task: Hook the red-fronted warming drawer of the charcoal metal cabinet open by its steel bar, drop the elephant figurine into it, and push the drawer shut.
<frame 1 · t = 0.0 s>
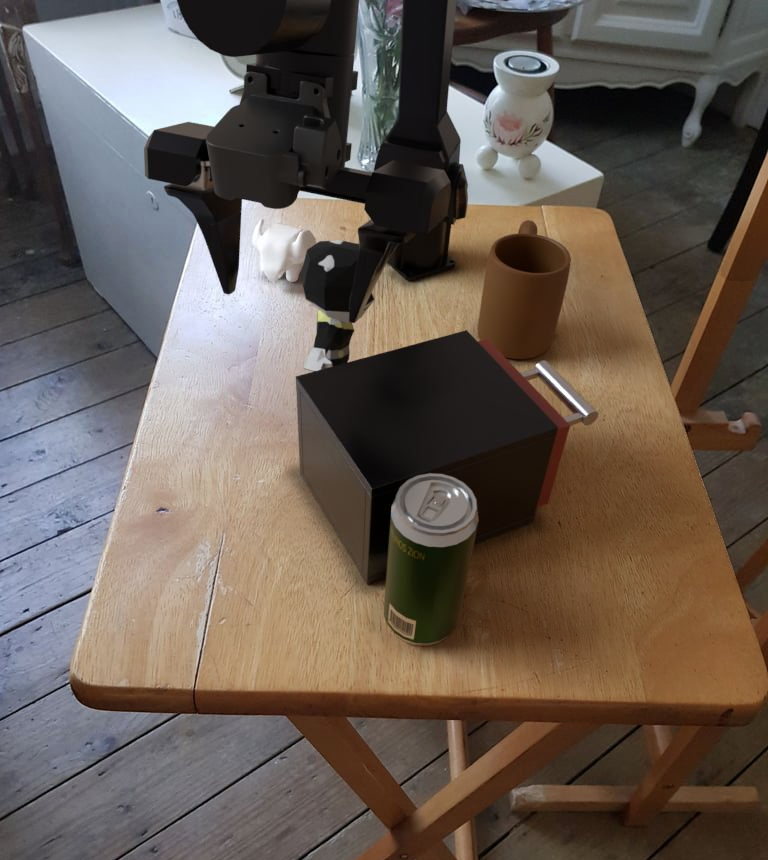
hand: (290, 306, 56), 15 cm above the table, tool pointing down, fingers open, 9 cm apart
beer can: (420, 619, 58), on the table
toy: (337, 400, 74), on the table
mug: (514, 327, 83), on the table
cabinet: (414, 498, 66), on the table
elephant figurine: (286, 277, 87), on the table
drawer: (471, 435, 64), point 5 cm above the table, slide at 0.5 cm
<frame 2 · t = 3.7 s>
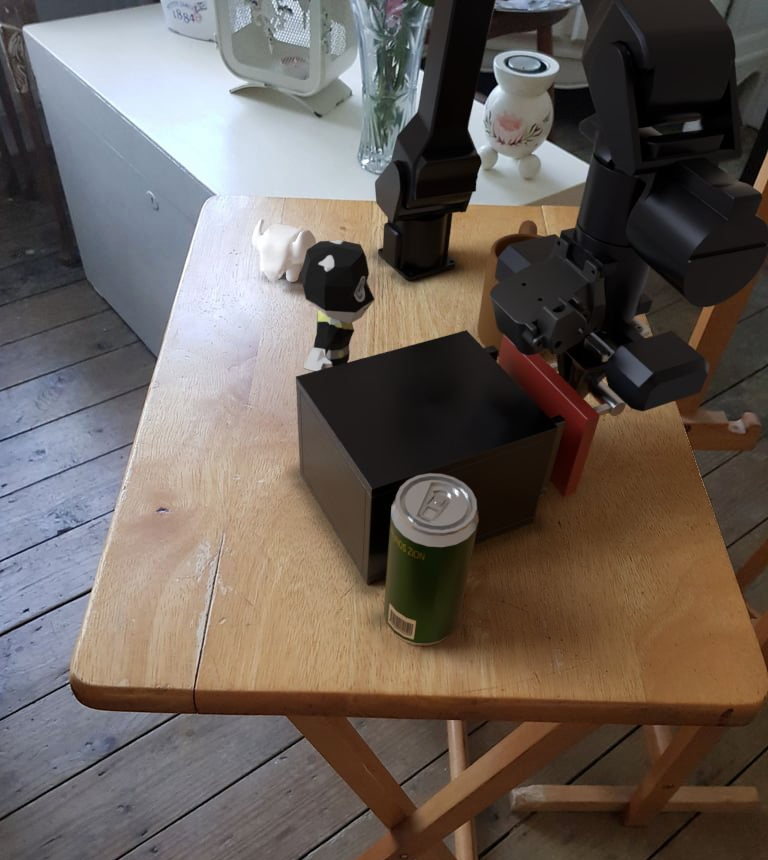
hand: (569, 403, 67), 5 cm above the table, tool pointing down, fingers closed, pressing on drawer
drawer: (500, 426, 64), point 5 cm above the table, slide at 3.2 cm, touching gripper
everything else where it was.
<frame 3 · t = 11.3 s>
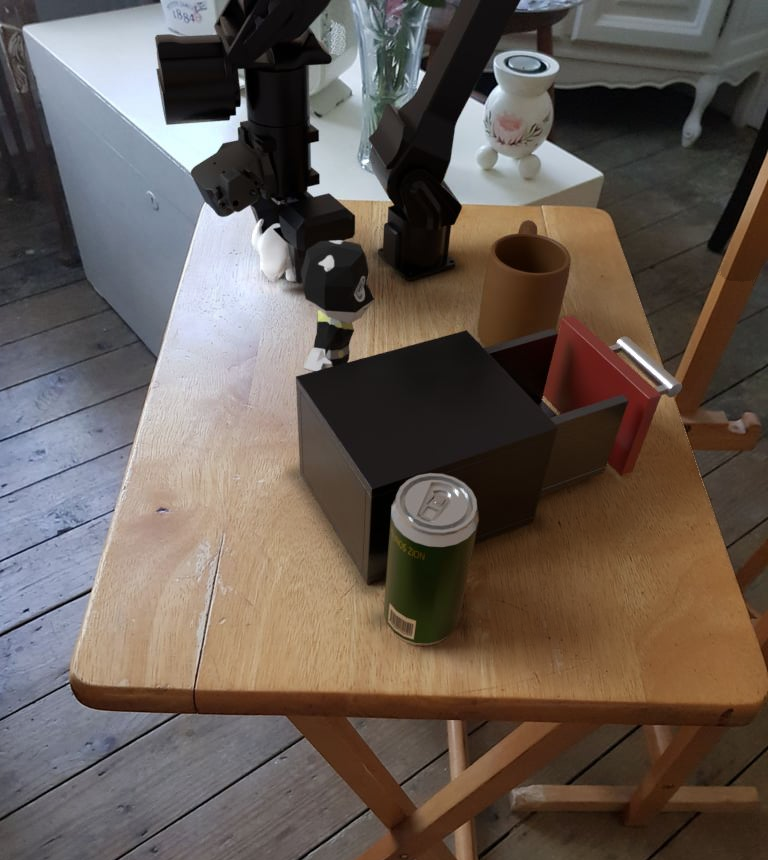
hand: (286, 267, 86), 1 cm above the table, tool pointing down, fingers closed on elephant figurine, 6 cm apart
elephant figurine: (286, 277, 87), on the table, touching gripper
drawer: (560, 406, 66), point 5 cm above the table, slide at 8.9 cm
everything else where it was.
when the fingers open (9 cm above the table, at t = 17.5 s): elephant figurine drops 6 cm, resting on drawer.
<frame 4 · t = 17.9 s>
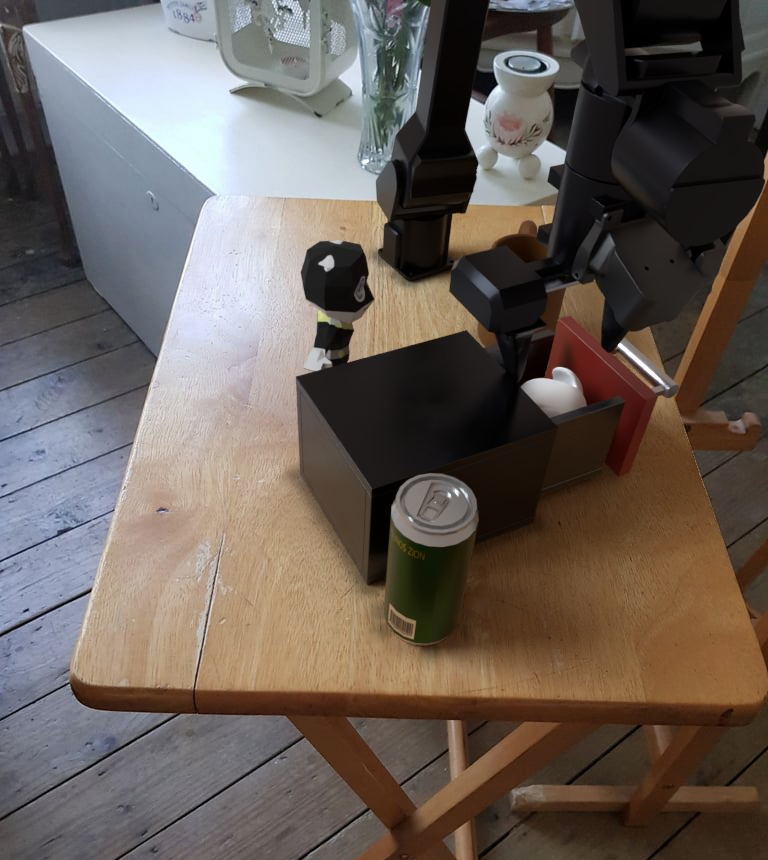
hand: (561, 364, 63), 10 cm above the table, tool pointing down, fingers open, 8 cm apart
elephant figurine: (537, 439, 68), point 2 cm above the table, touching drawer
drawer: (557, 407, 66), point 5 cm above the table, slide at 8.6 cm, touching elephant figurine
everything else where it was.
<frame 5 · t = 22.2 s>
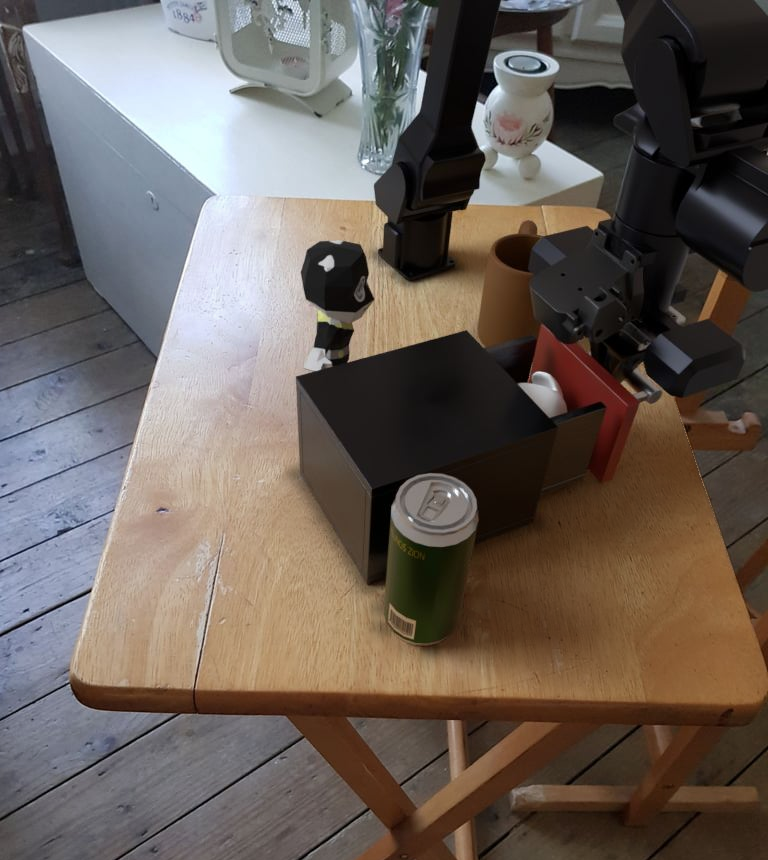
hand: (602, 392, 68), 5 cm above the table, tool pointing down, fingers closed
elephant figurine: (519, 446, 68), point 2 cm above the table, touching drawer
drawer: (539, 413, 66), point 5 cm above the table, slide at 6.9 cm, touching elephant figurine, gripper
everything else where it was.
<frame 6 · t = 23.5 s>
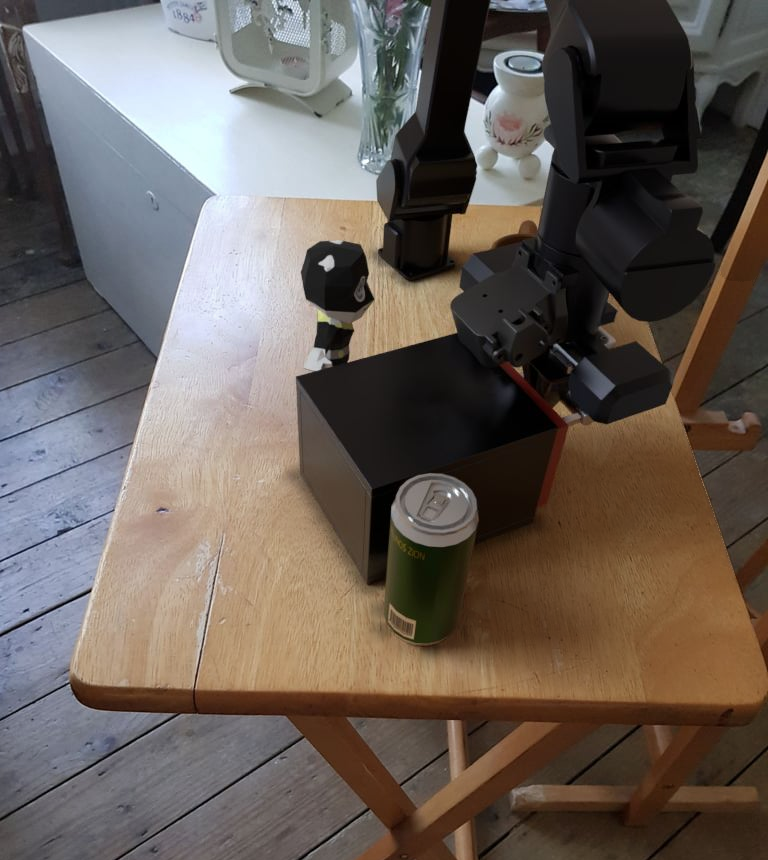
hand: (537, 414, 66), 5 cm above the table, tool pointing down, fingers closed, pressing on drawer
elephant figurine: (452, 469, 66), point 2 cm above the table, touching drawer
drawer: (470, 435, 63), point 5 cm above the table, slide at 0.4 cm, touching elephant figurine, gripper
everything else where it was.
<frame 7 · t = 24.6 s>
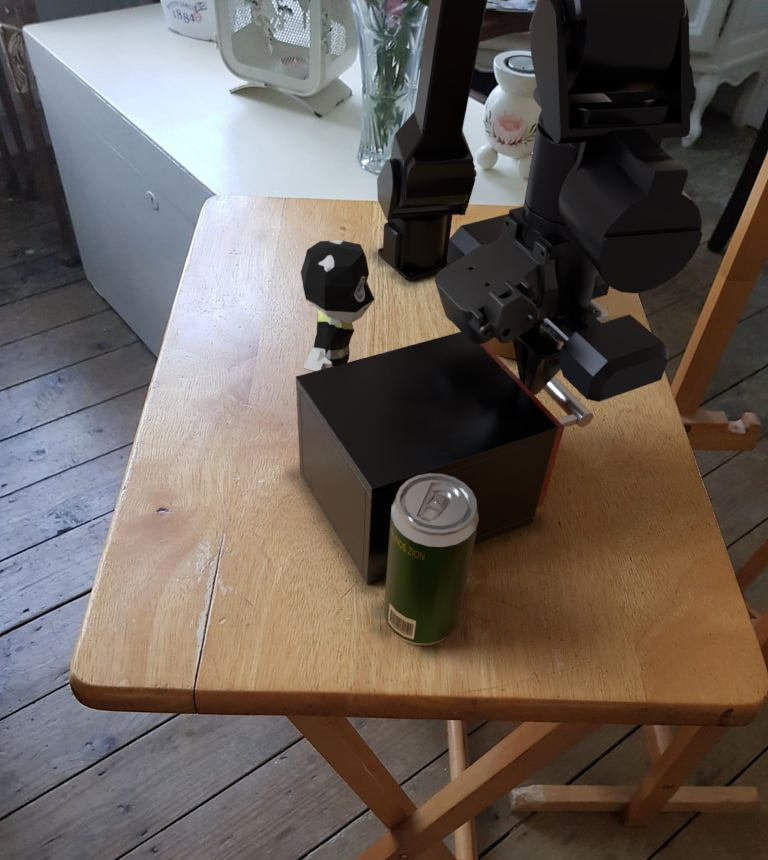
hand: (530, 393, 63), 8 cm above the table, tool pointing down, fingers closed
drawer: (466, 437, 63), point 5 cm above the table, slide at 0.0 cm, touching cabinet, elephant figurine, gripper
everything else where it was.
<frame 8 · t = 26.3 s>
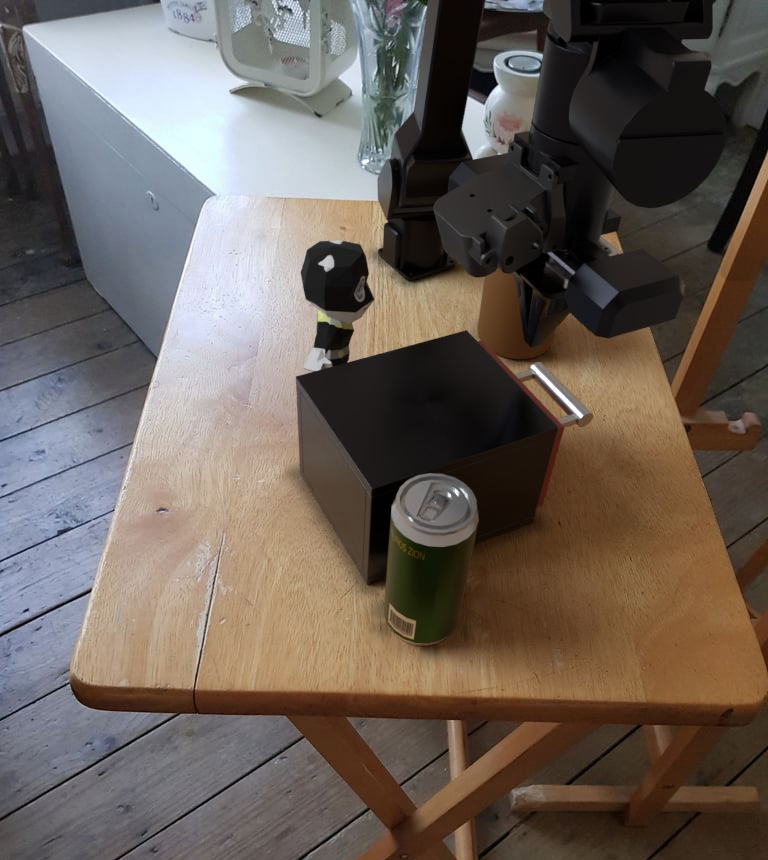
hand: (532, 344, 59), 13 cm above the table, tool pointing down, fingers closed
drawer: (466, 437, 63), point 5 cm above the table, slide at 0.0 cm, touching elephant figurine
everything else where it was.
at the end: drawer pulled out 8.9 cm at the most during the clip, back to where it started at the end; elephant figurine inside the target area in the cabinet (3.0 cm from its centre), point 1.8 cm above the cabinet's base; drawer slide at 0.0 cm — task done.
